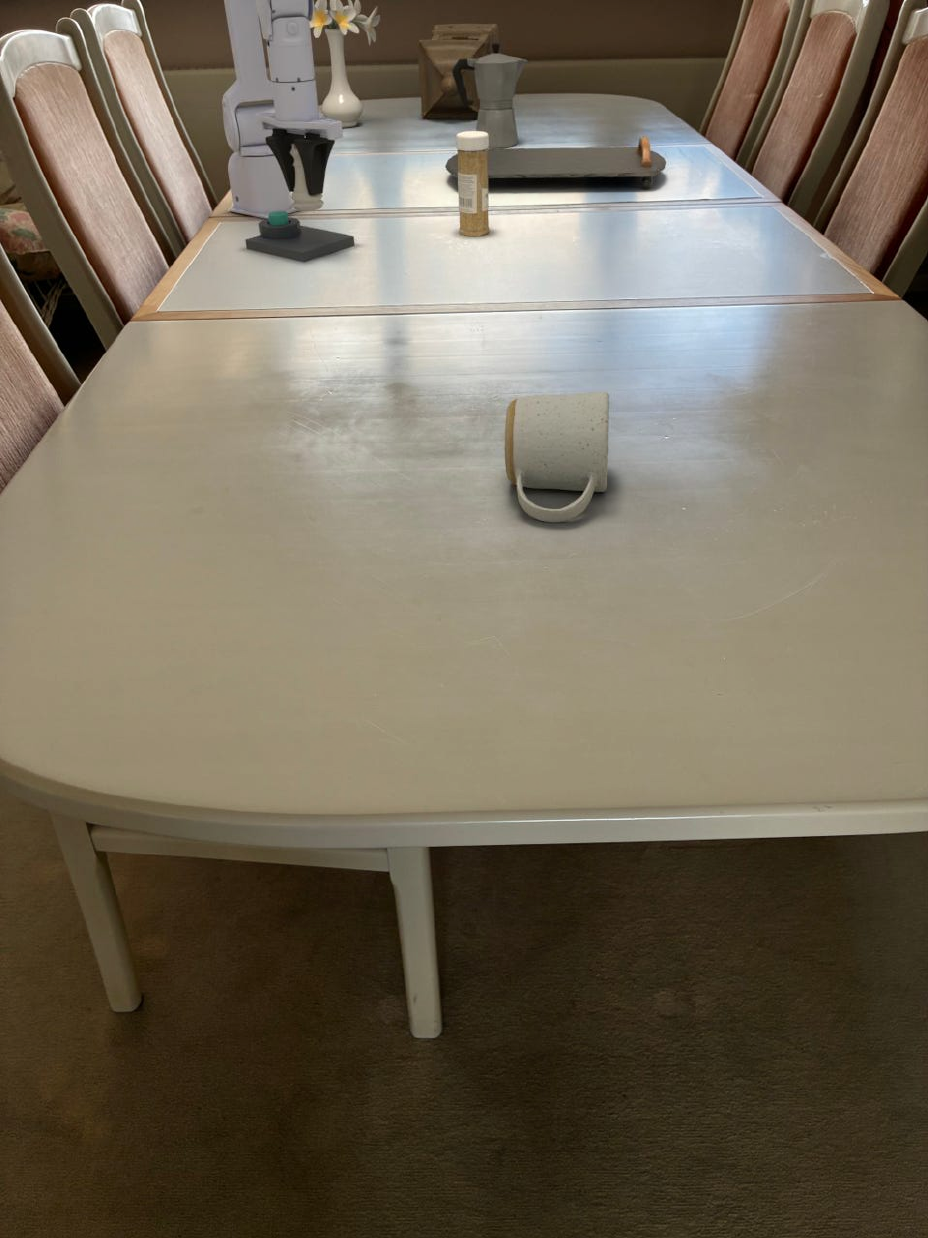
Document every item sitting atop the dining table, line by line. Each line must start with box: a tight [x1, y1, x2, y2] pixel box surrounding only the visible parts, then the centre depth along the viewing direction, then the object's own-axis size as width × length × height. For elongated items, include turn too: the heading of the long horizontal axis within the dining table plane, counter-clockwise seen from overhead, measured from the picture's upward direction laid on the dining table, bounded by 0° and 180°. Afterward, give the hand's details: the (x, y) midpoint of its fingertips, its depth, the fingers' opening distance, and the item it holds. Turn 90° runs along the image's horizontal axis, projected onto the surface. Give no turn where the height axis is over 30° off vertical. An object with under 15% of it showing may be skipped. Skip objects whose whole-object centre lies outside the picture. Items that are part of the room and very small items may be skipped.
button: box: [268, 211, 289, 225], centre depth 138 cm, size 3×3×2 cm
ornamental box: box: [417, 23, 499, 119], centre depth 225 cm, size 35×18×18 cm, turn 173°
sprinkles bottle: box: [455, 130, 490, 237], centre depth 138 cm, size 5×5×14 cm
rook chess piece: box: [290, 144, 324, 212], centre depth 131 cm, size 4×4×8 cm
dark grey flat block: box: [245, 216, 356, 263], centre depth 137 cm, size 13×10×3 cm
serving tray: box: [444, 136, 667, 190], centre depth 169 cm, size 39×23×6 cm, turn 86°
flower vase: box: [307, 0, 381, 129], centre depth 213 cm, size 13×18×25 cm
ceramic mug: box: [504, 391, 610, 523], centre depth 75 cm, size 11×8×8 cm
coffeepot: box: [452, 42, 529, 149], centre depth 192 cm, size 15×9×18 cm, turn 103°
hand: (306, 192), depth 132 cm, fingers closed on rook chess piece, 3 cm apart
